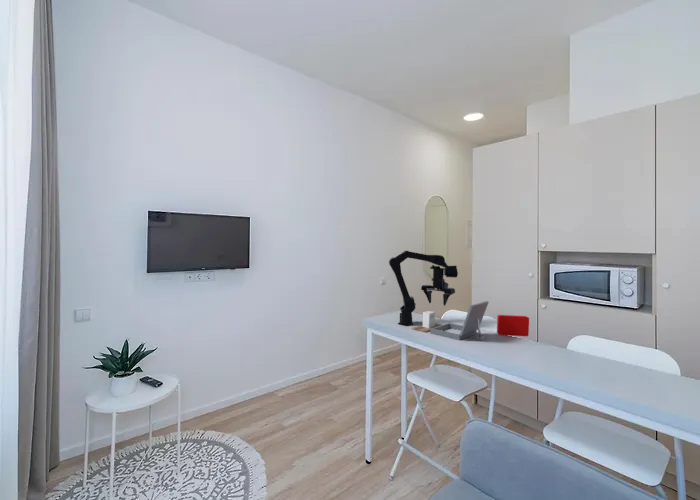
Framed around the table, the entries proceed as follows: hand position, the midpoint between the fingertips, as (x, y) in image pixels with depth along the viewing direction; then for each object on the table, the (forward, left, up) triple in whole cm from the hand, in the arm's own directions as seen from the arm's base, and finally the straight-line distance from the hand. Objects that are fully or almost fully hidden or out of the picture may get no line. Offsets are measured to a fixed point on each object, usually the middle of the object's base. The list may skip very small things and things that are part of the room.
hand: (437, 304), depth 196 cm
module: (0, -8, -11) cm, 14 cm away
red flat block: (+37, +13, -12) cm, 41 cm away
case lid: (+25, -8, -2) cm, 27 cm away
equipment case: (+19, -8, -12) cm, 24 cm away
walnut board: (0, -8, -12) cm, 15 cm away
